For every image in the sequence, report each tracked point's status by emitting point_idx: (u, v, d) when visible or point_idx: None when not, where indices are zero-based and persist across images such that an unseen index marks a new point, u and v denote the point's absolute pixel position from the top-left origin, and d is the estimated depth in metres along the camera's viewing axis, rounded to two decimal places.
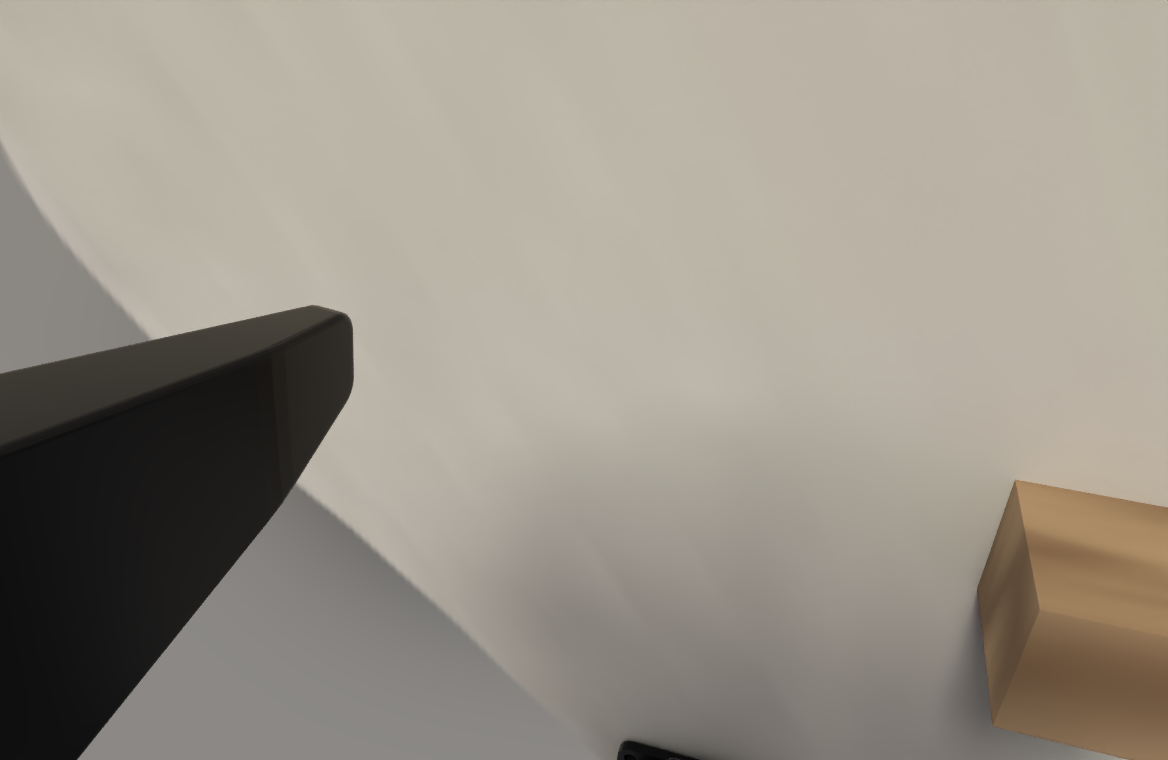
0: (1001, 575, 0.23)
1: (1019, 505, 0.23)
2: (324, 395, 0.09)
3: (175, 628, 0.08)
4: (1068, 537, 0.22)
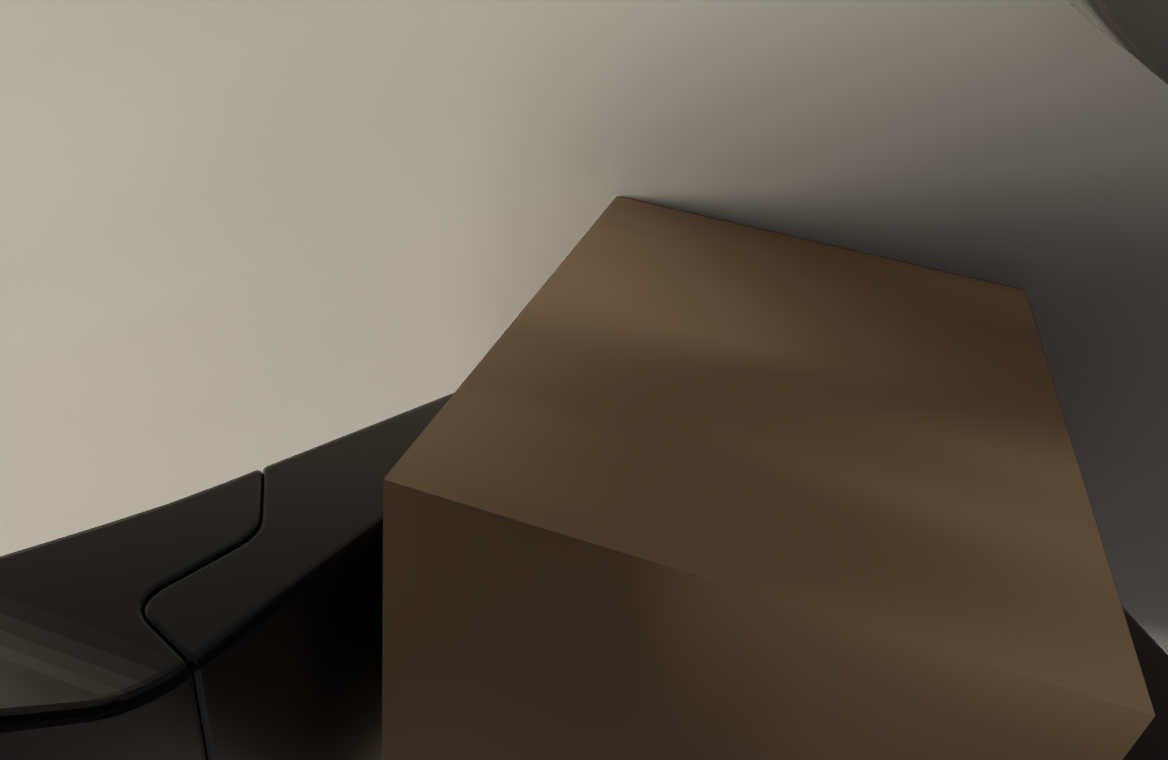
0: None
1: None
2: None
3: None
4: None
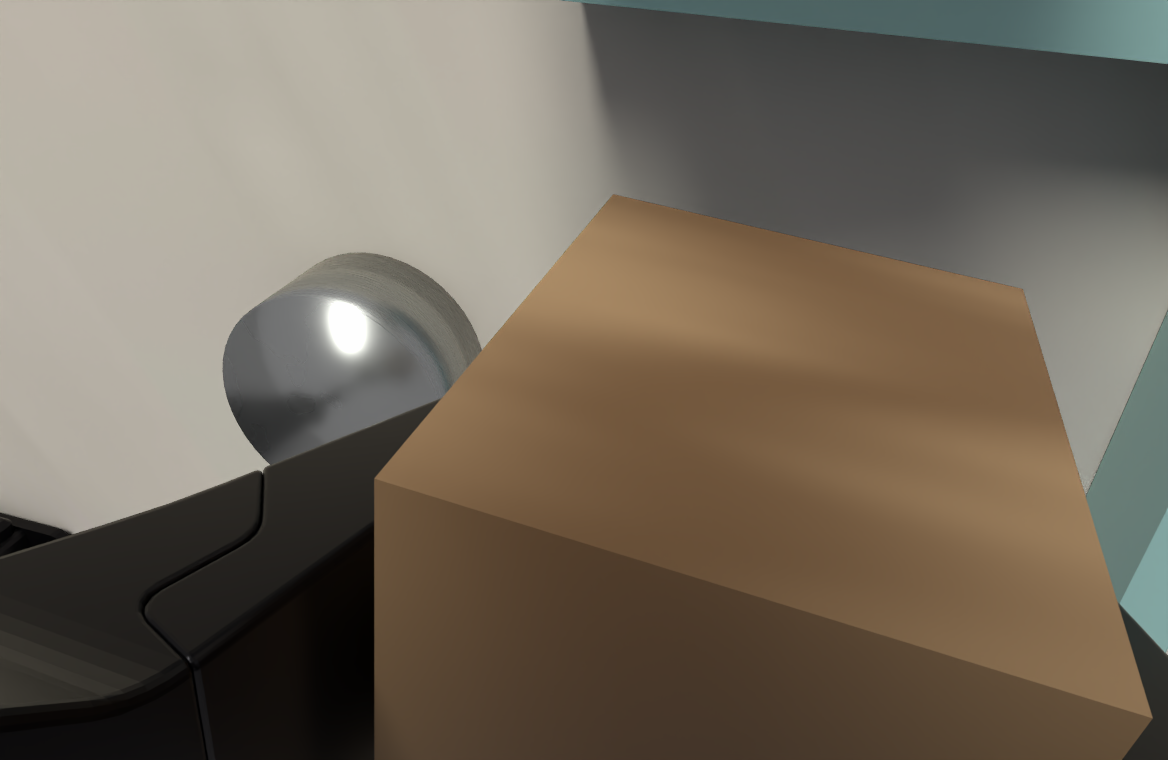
0: None
1: None
2: None
3: None
4: None
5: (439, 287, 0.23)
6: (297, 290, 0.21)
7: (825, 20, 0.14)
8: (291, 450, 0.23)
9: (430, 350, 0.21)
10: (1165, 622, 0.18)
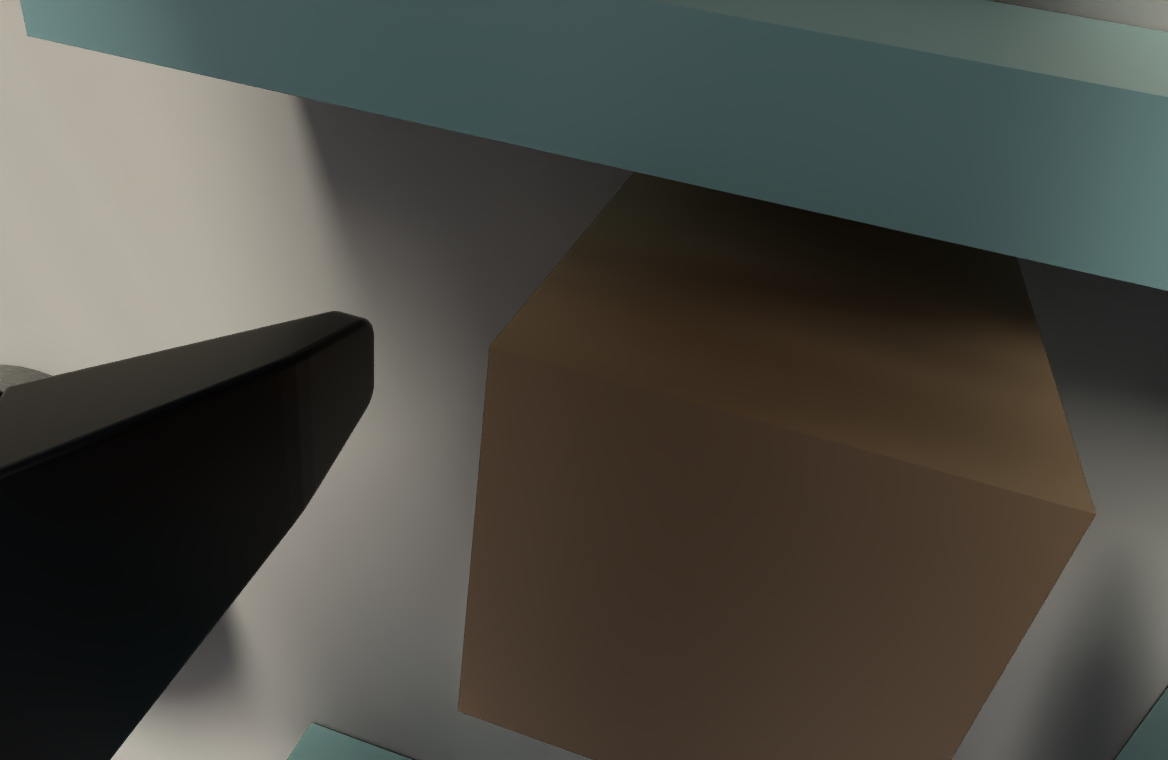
0: None
1: None
2: (346, 401, 0.09)
3: (199, 636, 0.08)
4: None
5: None
6: None
7: (593, 147, 0.07)
8: None
9: None
10: None
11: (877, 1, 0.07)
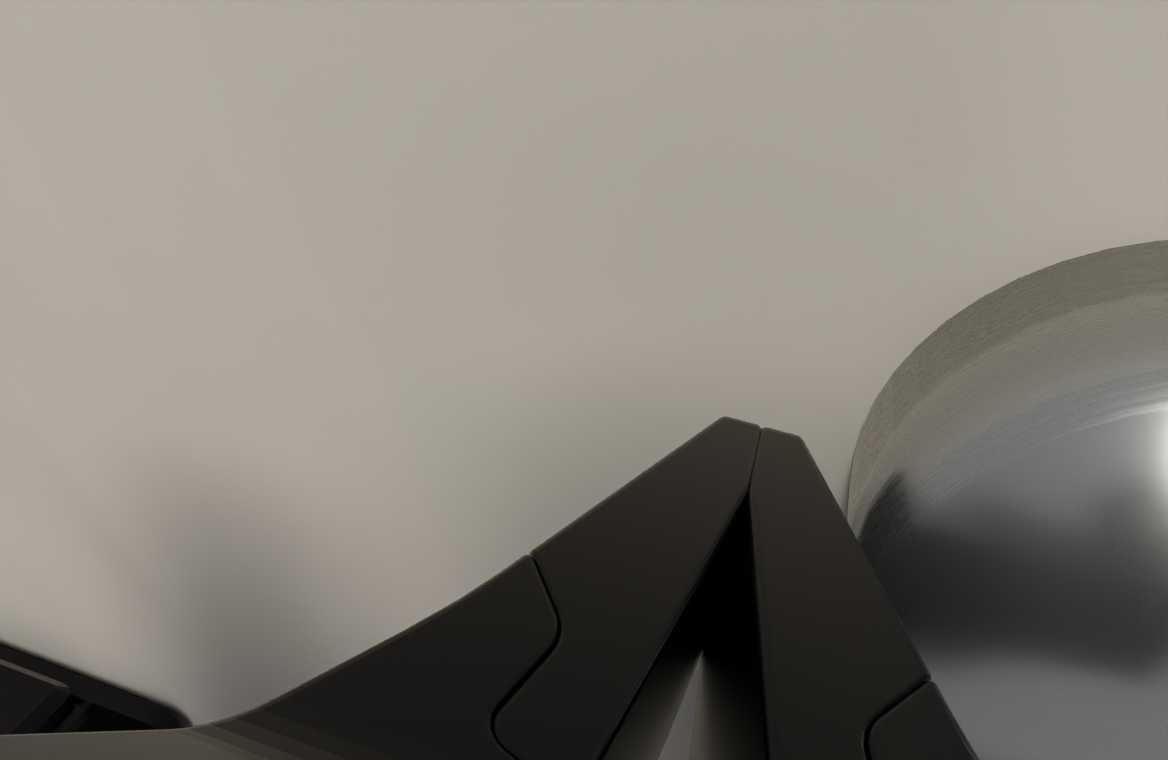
0: None
1: None
2: None
3: None
4: None
5: None
6: None
7: None
8: None
9: None
10: None
11: None
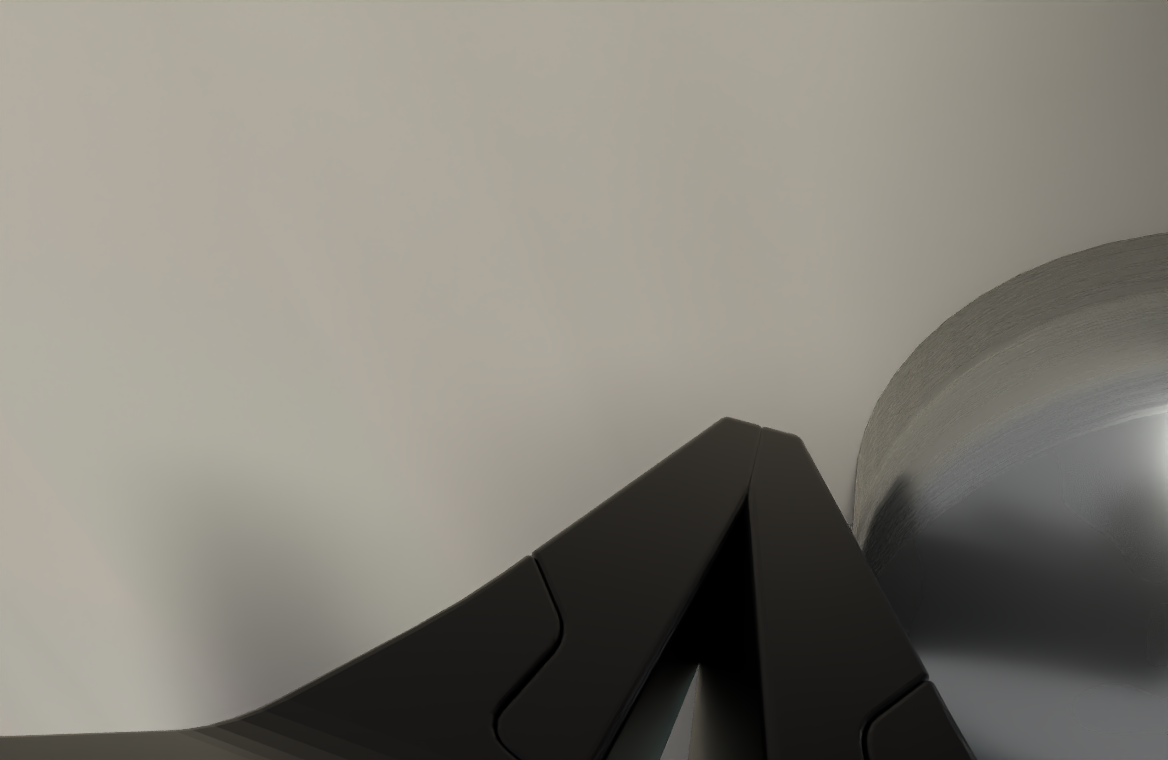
0: None
1: None
2: None
3: None
4: None
5: None
6: None
7: None
8: None
9: None
10: None
11: None
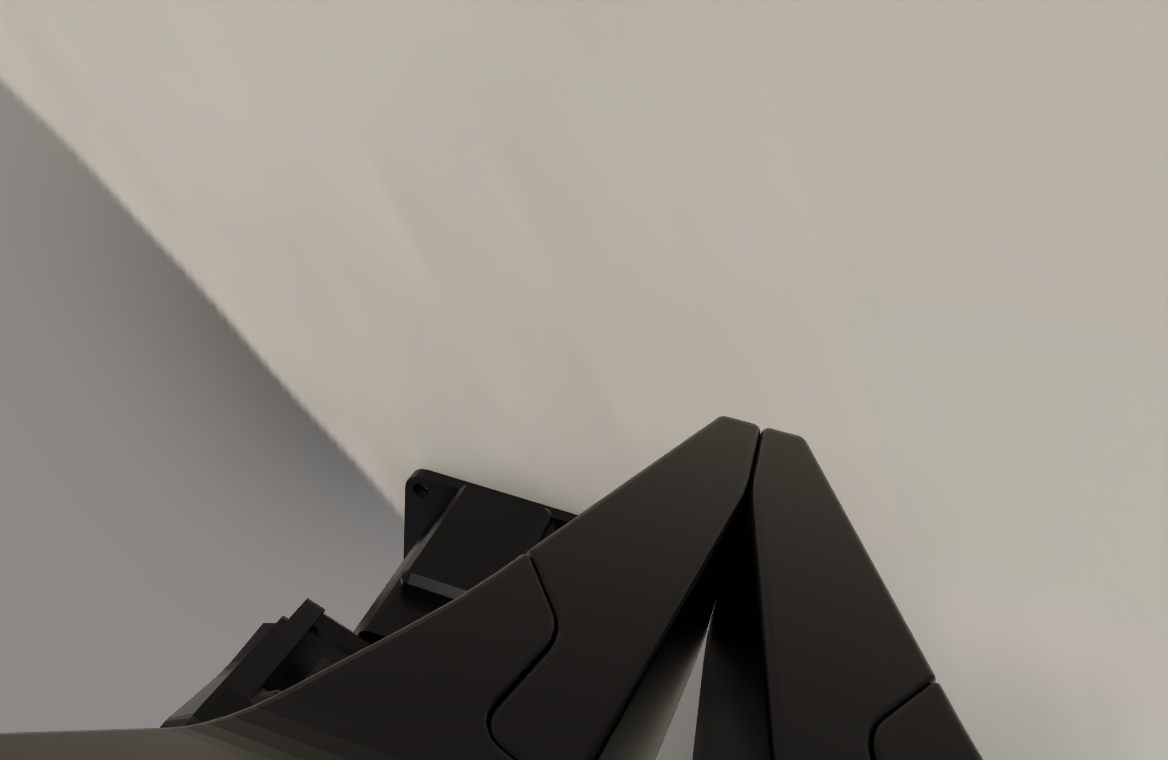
0: None
1: None
2: None
3: None
4: None
5: None
6: None
7: None
8: None
9: None
10: None
11: None
